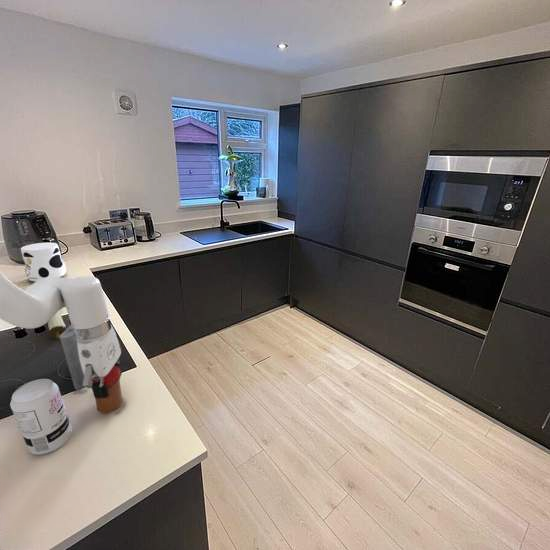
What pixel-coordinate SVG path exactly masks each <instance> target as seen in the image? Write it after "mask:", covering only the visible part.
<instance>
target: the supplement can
mask: <svg viewBox="0 0 550 550" xmlns="http://www.w3.org/2000/svg"><path fill="white" fill-rule="evenodd" d="M9 403H10V404H9V407H10V409H11V411H12V414H13V416H14V418H15V421H16V423H17V425H18V428H19V430H20V434H21V436H22V438H23V440H24V442H25V445H26V448H27V450H28V452H29V453H30V454H33V455H45V454H48V453H51V452H53V451H55V450H57V449H58V448H60V447H62V446H63V445H64V444H65V442H66V441H67V440H68V439H69V438H70V436H71V434H72V430H73V429H72V428H73V427H72V424H71V421H70V419H69V416H68V412H67V409H66V407H65V404H64V400H63V397H62V394H61V391H60V388H59V386H58V384H57V383H55V382H54V381H53V380H52V379H49V378H39V379H34V380H32V381H28V382H26V383H25V384H23V385H21V386H19V387H18V388H17V389H16V390H15V391H14V392H13V393H12V396H11V399H10V402H9Z"/></svg>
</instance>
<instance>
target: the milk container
mask: <svg viewBox="0 0 550 550" xmlns="http://www.w3.org/2000/svg"><path fill="white" fill-rule="evenodd" d="M20 252H21V255H22V260H23V263H24V268H25V269H24V273H25V276H26V278H27V279H28V280H29V281H30V282H33V283H35V282H36V281H37V280H39V279H42V278H45V277H61V278H64V277H65V275H66V274H67V266H66V264H65V262H64V260H63V258H62V255H61V251H60V248H59V245H58V243H57V242H37V243H36V242H35V243H31V244H26V245H24V246H21V248H20Z"/></svg>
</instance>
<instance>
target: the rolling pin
mask: <svg viewBox="0 0 550 550" xmlns="http://www.w3.org/2000/svg"><path fill="white" fill-rule="evenodd" d="M47 327H48V330H49V331H48V335H49V337H50V338H51V339H54V340H60V337H59V336H60V335H61V334H62V333H63V332H64V331H65V330H66V329H67V326H66V323H65V322H64V320H63V317H62V314H61V310H59V311H58V312H57V313H56V314H55V315H54V316H53V317H52V318H51V319H50V321H48V322H47Z"/></svg>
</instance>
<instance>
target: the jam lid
mask: <svg viewBox="0 0 550 550" xmlns="http://www.w3.org/2000/svg"><path fill="white" fill-rule="evenodd" d="M120 370H121V368H120V369H119V367H118V366H115V365H114V366H113V367H112V369H111V370H110V372H109V373H108V374H107V375H106V376H104V384H106V386H107V387H110V386H112V385H114V384H115V383H117V382H118V381H119V379H120V380H121V376H122V375H121V374H122V371H121V372H120ZM94 373H95V372H94ZM94 382H99V377H94Z"/></svg>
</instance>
